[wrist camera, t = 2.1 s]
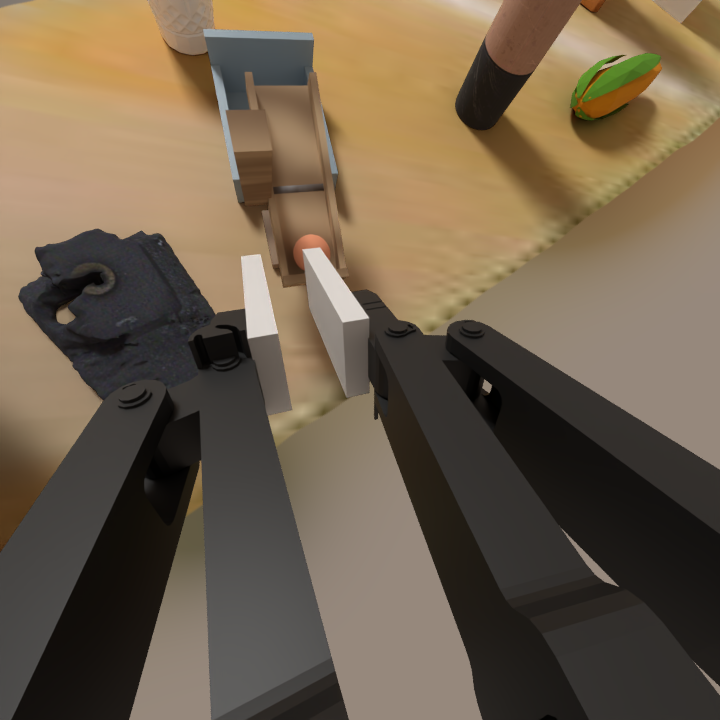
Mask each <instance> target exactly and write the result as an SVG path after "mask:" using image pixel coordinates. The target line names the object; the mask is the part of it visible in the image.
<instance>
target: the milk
mask: <svg viewBox="0 0 720 720" xmlns="http://www.w3.org/2000/svg"><path fill="white" fill-rule="evenodd" d="M652 1H653V2H655V3H656V4H657V5H658V6H660V7H661V8H662V9H663V10H665V11H666V12H667V13H668V14H670V15H671V16H672V17H673V18H675V19H676V20H677V21H678V22H680V23H682V22H683V21H684V20H685V19H686V17H687V16H688V15H689V14H690V13H691V12H692V11H693V10H694V9H695V8H696V7H697V5H698V4H699V3H700V2H701V1H702V0H652Z"/></svg>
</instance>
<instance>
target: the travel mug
mask: <svg viewBox="0 0 720 720" xmlns="http://www.w3.org/2000/svg"><path fill="white" fill-rule="evenodd" d="M581 1H582V0H504V1H503V3H502V5H501V7H500V9H499V11H498V13H497V15H496V17H495V19H494V21H493V23H492V25H491V27H490V29H489V30H488V32H487V35H486V37H485V39H484V41H483V43H482V45H481V47H480V49H479V51H478V53H477V55H476V58H475V60H474V62H473V64H472V66H471V68H470V70H469V72H468V74H467V77H466V79H465V81H464V83H463V85H462V87H461V89H460V91H459V94H458V96H457V98H456V103H455V107H456V111H457V114H458V116H459V117H460V119H461V120H462V121H463V122H464V123H465V124H467V125H468V126H470V127H471V128H474V129H477V130H486V129H489V128H491V127H492V126H494V125H495V123H496V122H497V121H498V119H499V118H500V117H501V115H502V114H503V113H504V111H505V110H506V109H507V107H508V106H509V105H510V103H511V102H512V100H513V99H514V98H515V96H516V95H517V94H518V92H519V91H520V89H521V88H522V87H523V85H524V84H525V83H526V81H527V80H528V78H529V77H530V76H531V74H532V73H533V72H534V70H535V69H536V67H537V66H538V64H539V63H540V61H541V60H542V59H543V57H544V56H545V54H546V53H547V51H548V50H549V48H550V47H551V45H552V44H553V42H554V41H555V39H556V38H557V36H558V35H559V34H560V32H561V31H562V29H563V28H564V26H565V25H566V23H567V22H568V20H569V19H570V17H571V16H572V14H573V13H574V11H575V10H576V9H577V7H578V6H579V4H580V3H581Z"/></svg>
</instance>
